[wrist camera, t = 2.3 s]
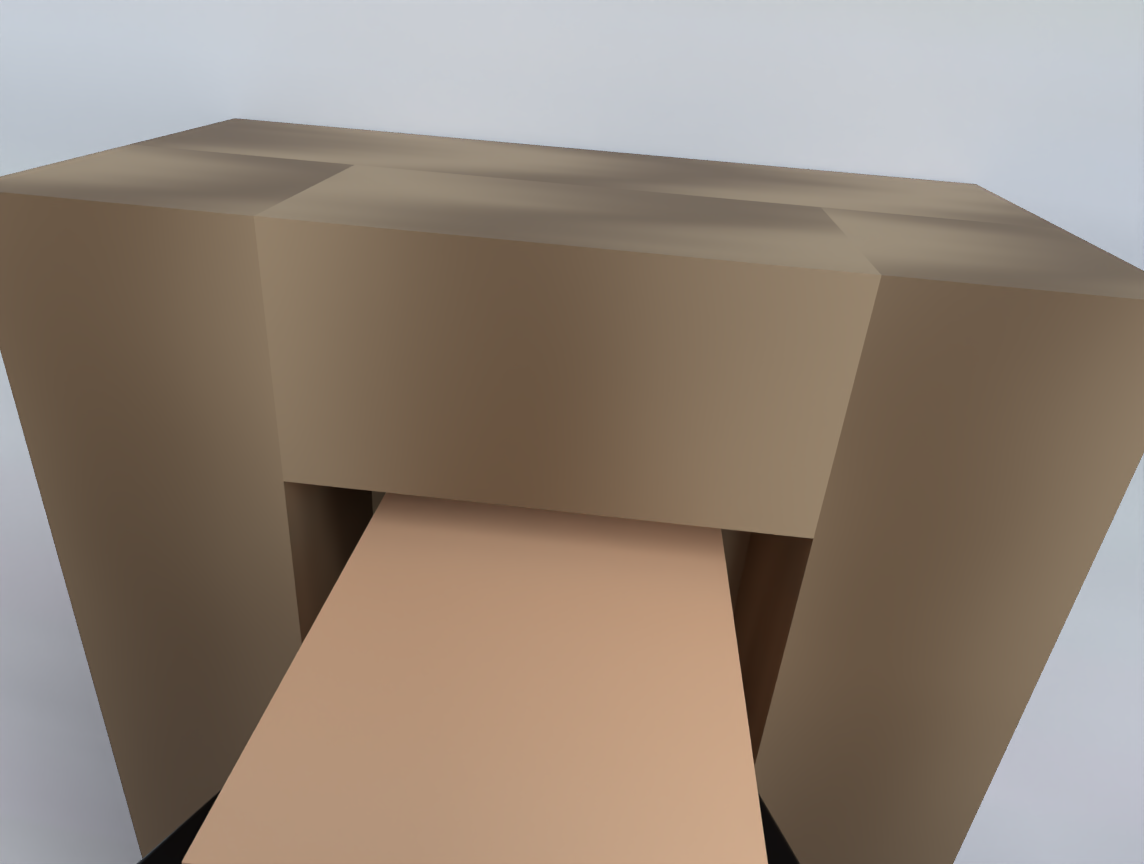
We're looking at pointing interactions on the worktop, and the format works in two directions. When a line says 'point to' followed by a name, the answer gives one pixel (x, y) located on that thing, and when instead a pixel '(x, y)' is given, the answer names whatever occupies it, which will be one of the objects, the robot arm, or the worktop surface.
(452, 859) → the plug
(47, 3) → the worktop surface
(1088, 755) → the worktop surface
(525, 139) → the worktop surface
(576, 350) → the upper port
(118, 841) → the worktop surface
